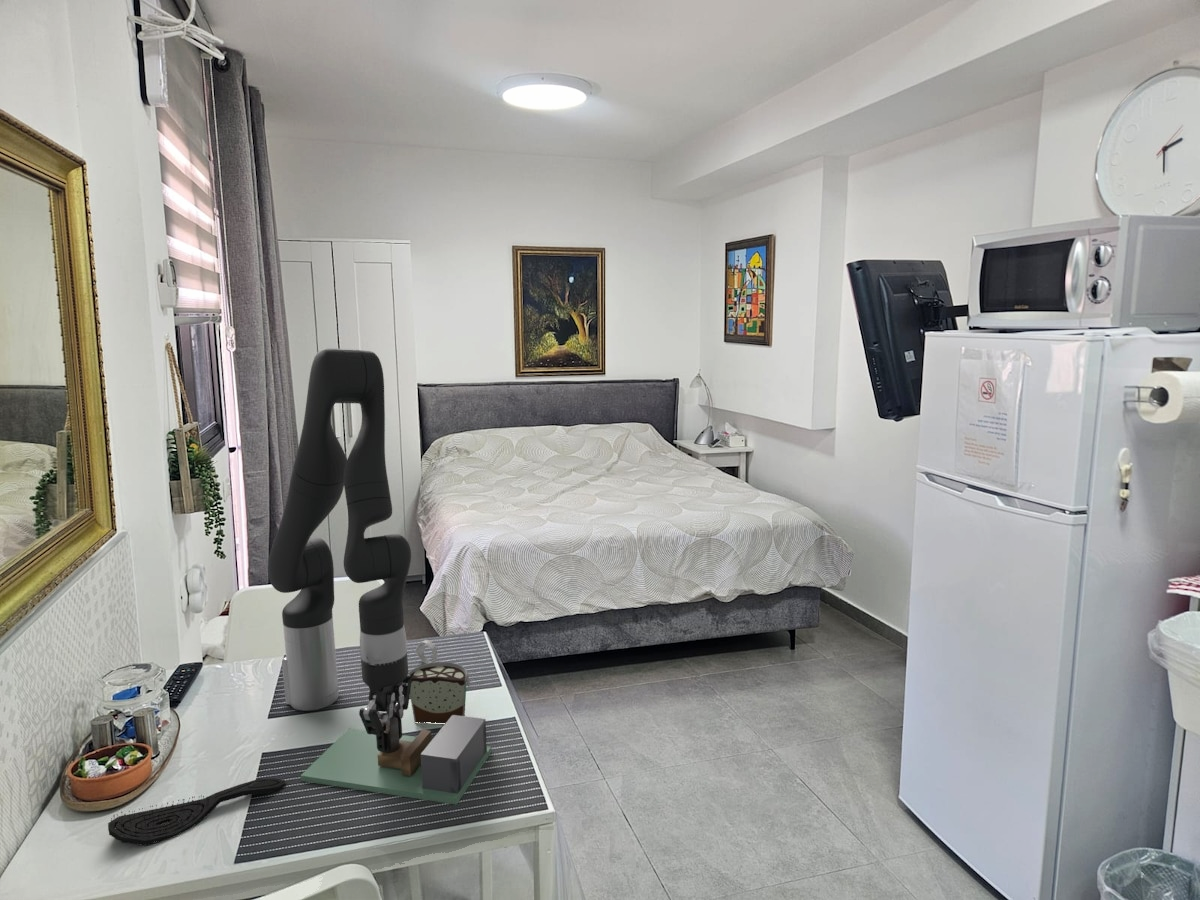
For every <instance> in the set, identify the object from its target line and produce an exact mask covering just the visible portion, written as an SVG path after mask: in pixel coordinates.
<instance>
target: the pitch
mask: <svg viewBox="0 0 1200 900" xmlns="http://www.w3.org/2000/svg"><path fill="white" fill-rule="evenodd" d="M416 737H417V736H411V735H403V734H402V737H401V739H400V740H403V741H410V742H412V741H413V740H414V739H415V738H416ZM432 739H433V738H431V740H432ZM379 753H380V751H378V749H377V740H376V735H373V734H367V731H366V729H359V728H352V727H349V728H348V729H346V731H345V732H344V733H343V734H342V735H340V736H339V738H338V739H336V741H334V743H332V744H331V745H330V747H328V748H327V749H326V750H325V751H324V752H323V753H322V754H321V755H320V756H319V757H318V758H317V759H316V760H315V761H314V762H313V763H312V764H311V765H310V766H309V767H308V768H307V769H306V770H304V772H303V773H302V774H301V775H300V780H301V781H302V782H307V783H313V784H319V785H324V786H325V785H326V786H333V787H339V788H344V789H345V788H347V789H353V790H360V791H364V790H365V792H372V793H378V794H384V795H393V796H399V797H404V798H410V799H411V798H412V799H419V800H423V801H424V800H425V801H430V802H431V801H432V802H438V803H444V804H451V805H458V804H459V802H460V800H461V799H462V797H463V796H464V795H465V793H466V792H467V789H468V788H469V787H470V785H471V784H472V782H473V780H474V779H475V778H476V776H477V774H479V771H480V770H481V769H482V767H483V766H484V764H485V762H486V761H487V759H488V758H489V756H490V755H491V753H492V746H488V745H487V751H486V753H485V754H484V756H483V757H482V759H481V760H480V762H479V763H478V765H477V766H476V768H475V769H474V771H473V772H472V774H471V775H470V777H469V778H468V780H467V781H466V782H465V784H464V785H463V787H462V788H461V790H460V791H459V793H458V794H457V793H450V792H443V791H437V790H430V789H423V788H422V772H421V764H420V765H419V767H418V768H417V769H416V770H415V772H414V773H413V774H412V775H411V776H406V775H402V769H398V768H391V767H384V766H378V754H379Z"/></svg>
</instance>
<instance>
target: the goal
mask: <svg viewBox="0 0 1200 900" xmlns="http://www.w3.org/2000/svg"><path fill="white" fill-rule="evenodd" d="M486 722H487V721H486V718H482V717H474V716H473V717H472V716H457V715H452V716H451V717H450V719H449V720H448V721H447V722H446V723H445V725H442V727H441V728H440V730H439V731H438V732H437V733H436V735H435V736H434V737H433V738H431V739H432V741H431V742H430V743H429V744H428V746H427V747H426V748H425V749H424V751H423V752H422V753H421V754H420V755H421V772H422V788H423V789H430V790H437V791H443V792H450V793H457V794H458V793H459V791H460V790H461V788H462V787H463V785H464V784H465V782H466V781H467V780H468V778H469V777H470V775H471V774H472V772H473V771H474V769H475V768H476V766H477V765H478V763H479V762H480V760H481V759H482V757H483V756H484V754H485V753H486V751H487V746H488V745H487V723H486Z"/></svg>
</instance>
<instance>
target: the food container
mask: <svg viewBox="0 0 1200 900" xmlns="http://www.w3.org/2000/svg"><path fill="white" fill-rule="evenodd" d="M408 674H409V675H412V681H411V689H410V696H409V698H410V703H411V708H412V713H413V714H412V715H413V719H414V723H415V722H418V723H419V722H420V723H424V722H425V723H426V722H431V723H435V722H436V723H446V722H447V721H448V720H449V719H450V717H451V716H452V715H457V716H465V713H466V700H467V699H466V698H467V697H466V696H467V687H468V688H469V687H471V686H470V684H471V680H470V678H469V673H468V672H467V670H466V668H465V667H464V666H463V665H460V664H458V663H456V662H455V663H454V662H448V661H435V662H433V663H428V664H425V663H423V664H422V665H419V666H417V667H415V668H413V669H411V670H410V671H408Z"/></svg>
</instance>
